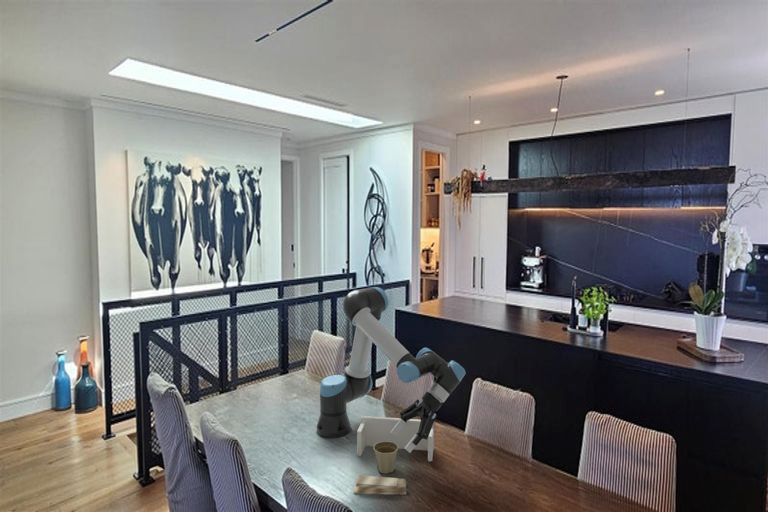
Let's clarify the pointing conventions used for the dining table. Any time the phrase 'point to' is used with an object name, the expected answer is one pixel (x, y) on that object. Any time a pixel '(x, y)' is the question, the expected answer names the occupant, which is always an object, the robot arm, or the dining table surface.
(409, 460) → the dining table surface
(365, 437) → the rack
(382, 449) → the flower pot
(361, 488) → the offcut stack
